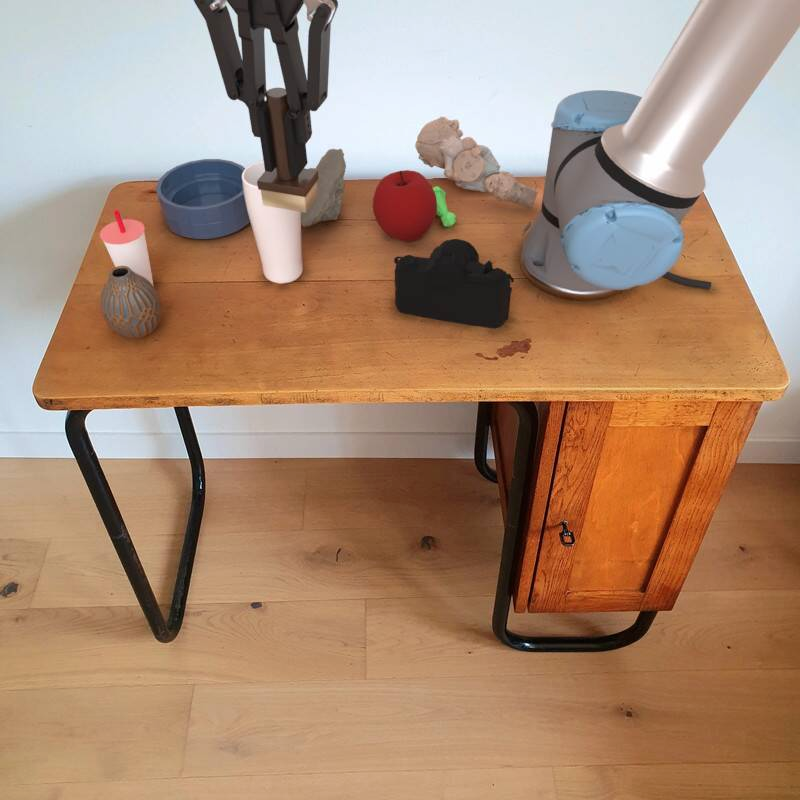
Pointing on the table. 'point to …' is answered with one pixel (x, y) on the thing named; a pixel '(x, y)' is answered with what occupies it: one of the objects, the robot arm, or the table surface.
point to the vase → (130, 303)
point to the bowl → (203, 198)
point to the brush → (285, 164)
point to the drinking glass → (273, 231)
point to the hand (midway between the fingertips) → (286, 166)
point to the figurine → (469, 163)
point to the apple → (405, 205)
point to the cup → (127, 245)
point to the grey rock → (327, 189)
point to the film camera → (453, 286)
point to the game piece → (443, 208)
